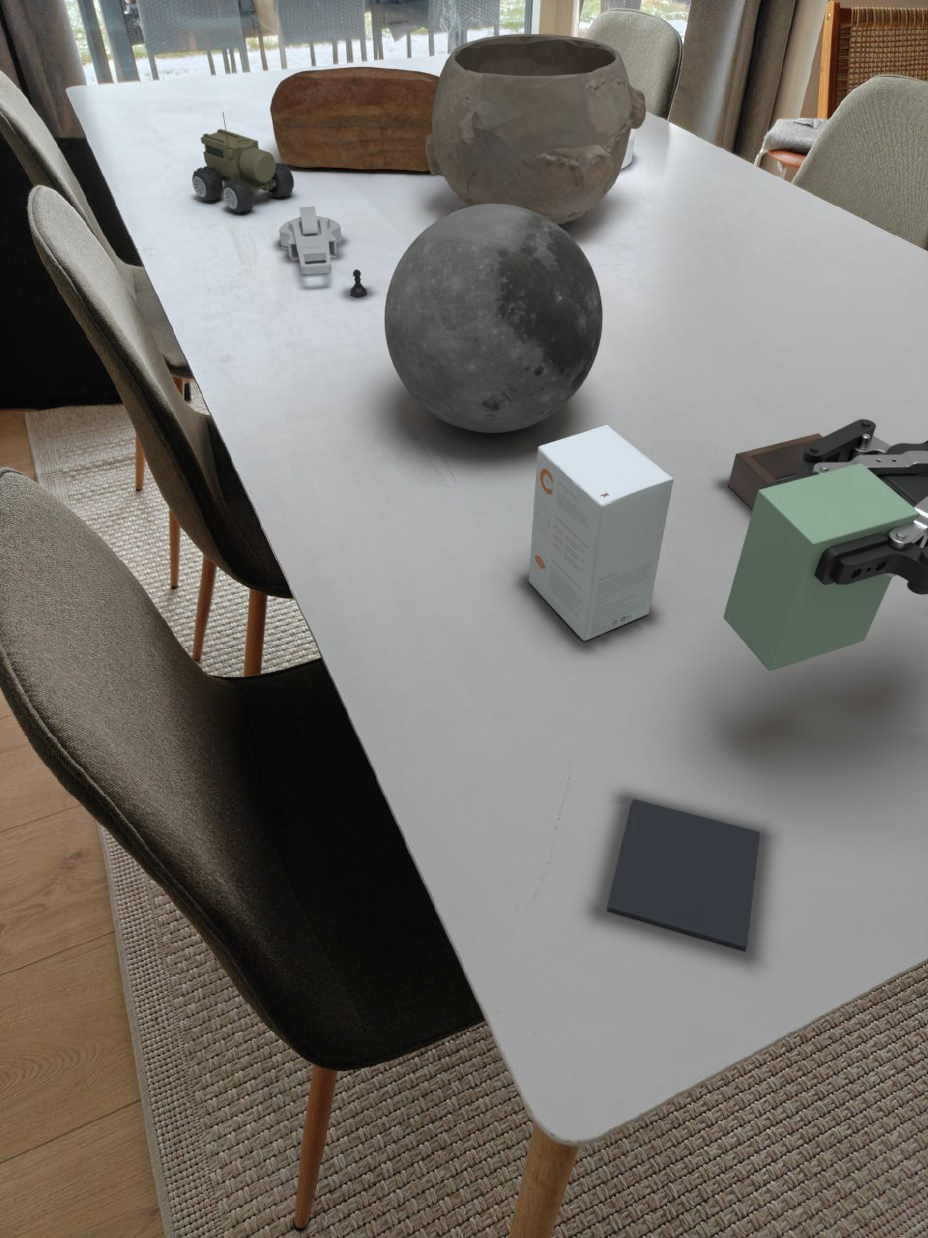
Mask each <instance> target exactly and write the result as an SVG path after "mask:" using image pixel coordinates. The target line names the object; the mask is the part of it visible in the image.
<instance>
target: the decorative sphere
mask: <svg viewBox="0 0 928 1238" xmlns="http://www.w3.org/2000/svg"><path fill="white" fill-rule="evenodd" d="M603 315H604V314H603V303H602V295H601V290H600V286H599V283H598V279H597V276H596V274H595V271H594V269H593V267H592V265H591V263H590V261H589V259H588V257H587V256H586V254H585V252H584V251H583V250H582V248H581V247H580V246H579V244H578V243H577V241H575V240H574V239H573V237H572V236H571V235H570V234H569V233H568V232H567V231H566V230H564V229H563V228H562V227H561V226H560V225H557V224H556V223H554V222H553V221H551V220H550V219H548V218H546V217H544V216H543V215H541V214H539V213H536V212H534V211H531V210H529V209H526V208H522V207H518V206H514V205H507V204H482V205H475V206H471V207H467V206H466V207H464V208H463V207H462V208H460V209H457V210H455V211H453V212H451V213H448V214H446V215H445V216H443V217H441V218H439V219H438V220H435V221H434V222H433V223H432V224H430V225H429V226H427V227H426V228H425V229H424V230H423V231H422V232H421V233H420V234H419V235H418V236H417V237H416V238H415V239H414V240H413V241H412V242H411V243H410V244H409V246H408V247H407V249H406V250H405V251H404V252H403V255H402V256H401V258H400V259H399V261H398V263H397V265H396V266H395V269H394V272H393V274H392V276H391V279H390V282H389V285H388V289H387V293H386V297H385V305H384V316H383V318H384V319H383V320H384V335H385V341H386V346H387V351H388V354H389V357H390V360H391V363H392V365H393V367H394V370H395V372H396V374H397V375H398V377H399V379H400V381H401V383H402V384H403V386H404V387H405V388H406V390H407V391H408V392H409V393H410V395H411V396H412V397H413V399H415V400H416V402H418V403H419V404H420V405H421V406H422V407H423V408H424V409H425V410H427V411H428V412H429V413H431V414H432V415H433V416H435V417H437V418H438V419H439V420H441V421H444V423H448V425H452V426H454V427H457V428H460V429H462V430H463V429H464V430H467V431H471V432H475V433H476V432H477V433H484V434H485V433H486V434H497V433H498V434H499V433H507V432H508V433H509V432H513V431H518V430H522V429H525V428H528V427H531V426H533V425H536V424H538V423H540V422H542V421H544V420H545V419H548V418H549V417H550V416H552V415H553V414H555V413H556V412H558V411H559V410H560V409H562V408H563V406H565V405H566V404H567V403H569V401H570V400H571V399H572V398H573V397H574V395H576V393H577V392H578V391H579V390H580V388H581V386H582V385H584V382H585V380H586V379H587V377H588V376H589V374H590V372H591V370H592V368H593V366H594V363H595V360H596V358H597V355H598V353H599V352H598V351H599V350H600V349H599V348H600V344H601V340H602V339H601V338H602V334H603V333H602V332H603V320H604V319H603V317H604V316H603Z"/></svg>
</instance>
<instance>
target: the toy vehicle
mask: <svg viewBox="0 0 928 1238" xmlns="http://www.w3.org/2000/svg"><path fill="white" fill-rule="evenodd" d="M222 117H223V124H224V129H222V128H219V129H217V131H216V132H213V133H210V134H209V133H203V134H202V136H201V137H200V142H201V144H203V146H204V151H203V153H202V154H203V159H204V162H205V165H204V166H203V167H198V168H196V170H194V171H193V174H192V177H191V181H192V187H193V189H194V191H195V193H196V195H197V196H198V198H200V199H201V200H203V201H206V202H207V203H209V202H210V203H211V202H212V201H216V200H219V198H221V197H222V195H223V199H224V202H225V204H226V205H227V207H228V208H229V209H230V210H231V211H232V212H233V213H238V214H240V215H241V214H242V213H246V212H248V211H249V210H252V209H253V206H254V204H255V195H257V194H258V191H260V190H262V191H263V192H266V191H268V192H269V194H270V195H272V196H273V197H274V198H275V197H276V198H278V199H282V197H287V196H289V194H292V193H293V190H294V187H295V179H294V175H293V173H292V171H291V169H290V168H289V167H288V166H287V165H286V164H285V163H281V162H276V158H275V157H274V155H273V154H272V153H271V152H269V151H267V150H264V149H261V148H259V147H260V146H259V140H257V139H253V138H250V137H247V136H245V135H241V134H238V133H235V132H233V131H228V130H227V127H226V126H227V125H226V121H225V114H224V112H222ZM223 183H224V185H223Z"/></svg>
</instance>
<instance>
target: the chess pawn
mask: <svg viewBox="0 0 928 1238" xmlns="http://www.w3.org/2000/svg"><path fill="white" fill-rule="evenodd" d="M361 275H362V272H361V270H359V269H353V272H352V276H353V277H354V278H353V279H354V284H353V286H352V287H351V288H350V294H349V295H350V296H351V297H354V298H364V297H365V296H366V295H368V291H367V289H366V287H364V285H363V284H362V282H361V281H362V278H361Z"/></svg>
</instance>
